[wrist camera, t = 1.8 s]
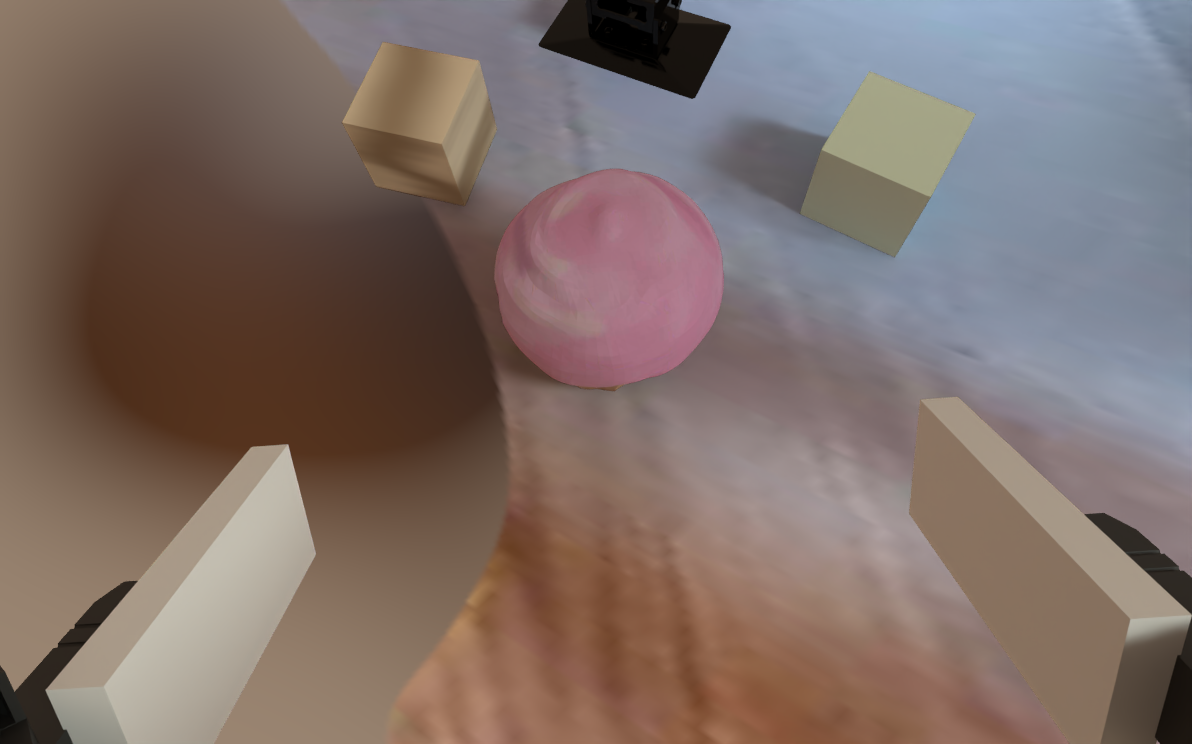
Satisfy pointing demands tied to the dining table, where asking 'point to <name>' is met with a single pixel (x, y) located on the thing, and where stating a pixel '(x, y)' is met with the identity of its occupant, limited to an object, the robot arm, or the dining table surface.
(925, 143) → the sage block
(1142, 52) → the dining table surface
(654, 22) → the black piece
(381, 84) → the birch block
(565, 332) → the cupcake
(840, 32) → the dining table surface
